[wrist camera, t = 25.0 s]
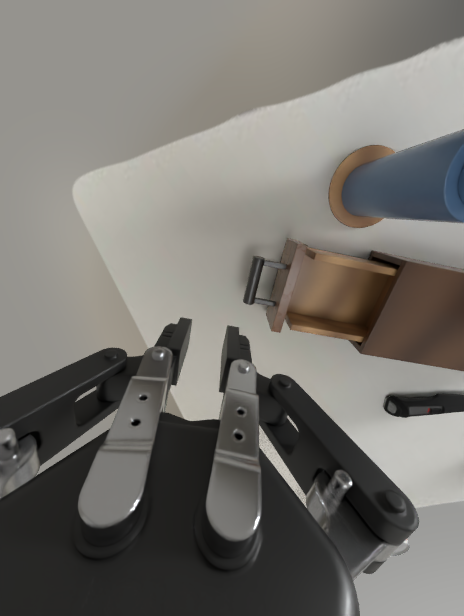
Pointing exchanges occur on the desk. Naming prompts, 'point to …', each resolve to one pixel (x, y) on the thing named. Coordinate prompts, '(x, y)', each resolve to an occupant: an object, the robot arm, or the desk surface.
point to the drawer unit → (419, 315)
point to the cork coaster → (340, 176)
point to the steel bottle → (411, 183)
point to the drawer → (322, 291)
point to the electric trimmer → (424, 405)
